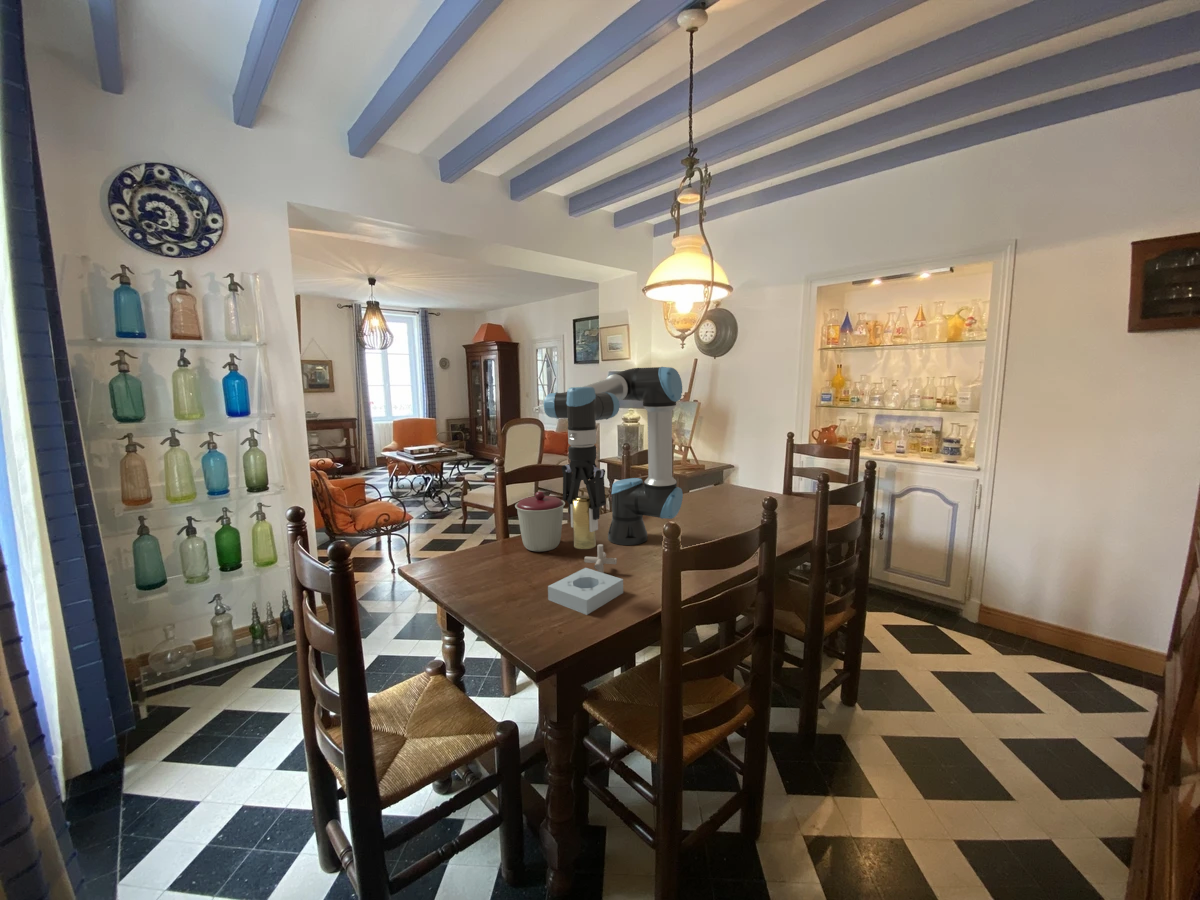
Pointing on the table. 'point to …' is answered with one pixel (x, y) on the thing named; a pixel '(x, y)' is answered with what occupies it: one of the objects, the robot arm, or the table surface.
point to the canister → (540, 521)
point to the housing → (585, 590)
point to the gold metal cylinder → (582, 523)
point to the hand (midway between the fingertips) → (584, 528)
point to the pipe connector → (600, 559)
